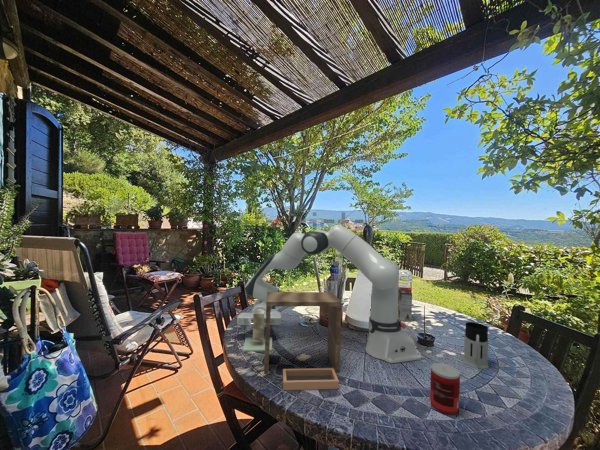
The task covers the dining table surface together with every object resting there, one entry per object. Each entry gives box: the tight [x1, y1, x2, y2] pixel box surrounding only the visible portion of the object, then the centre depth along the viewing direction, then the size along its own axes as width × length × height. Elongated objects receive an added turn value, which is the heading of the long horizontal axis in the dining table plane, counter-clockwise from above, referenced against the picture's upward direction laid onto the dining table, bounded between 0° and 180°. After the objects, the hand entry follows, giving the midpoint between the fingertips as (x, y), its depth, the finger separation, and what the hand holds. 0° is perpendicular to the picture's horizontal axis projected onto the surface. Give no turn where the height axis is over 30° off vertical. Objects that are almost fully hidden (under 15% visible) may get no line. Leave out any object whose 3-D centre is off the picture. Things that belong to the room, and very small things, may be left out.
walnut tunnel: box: [263, 291, 342, 375], centre depth 102 cm, size 27×14×26 cm, turn 95°
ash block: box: [252, 311, 265, 342], centre depth 116 cm, size 4×4×12 cm
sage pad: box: [242, 337, 273, 352], centre depth 116 cm, size 12×12×1 cm
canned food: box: [429, 362, 461, 415], centre depth 80 cm, size 8×8×11 cm
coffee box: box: [397, 289, 413, 323], centre depth 156 cm, size 9×6×16 cm
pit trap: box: [282, 367, 340, 391], centre depth 90 cm, size 18×8×2 cm, turn 95°
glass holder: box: [462, 321, 490, 370], centre depth 105 cm, size 9×14×15 cm, turn 149°
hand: (258, 325), depth 116 cm, fingers closed on ash block, 4 cm apart
